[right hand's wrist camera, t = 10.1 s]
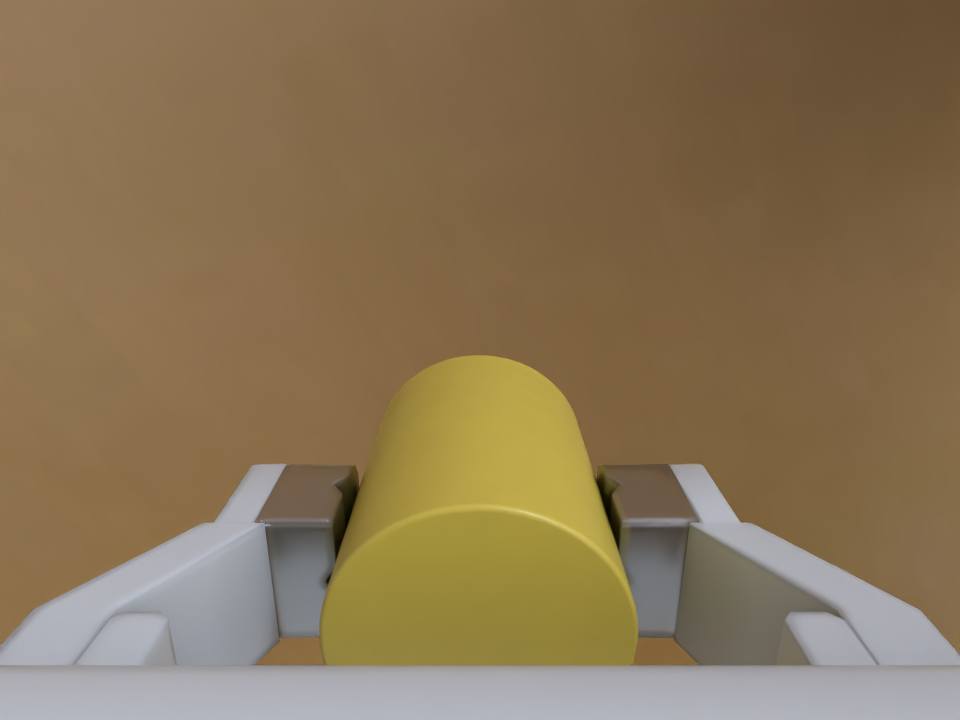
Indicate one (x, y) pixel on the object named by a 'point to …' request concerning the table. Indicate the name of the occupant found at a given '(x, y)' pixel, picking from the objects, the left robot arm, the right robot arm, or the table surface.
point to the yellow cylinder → (478, 533)
